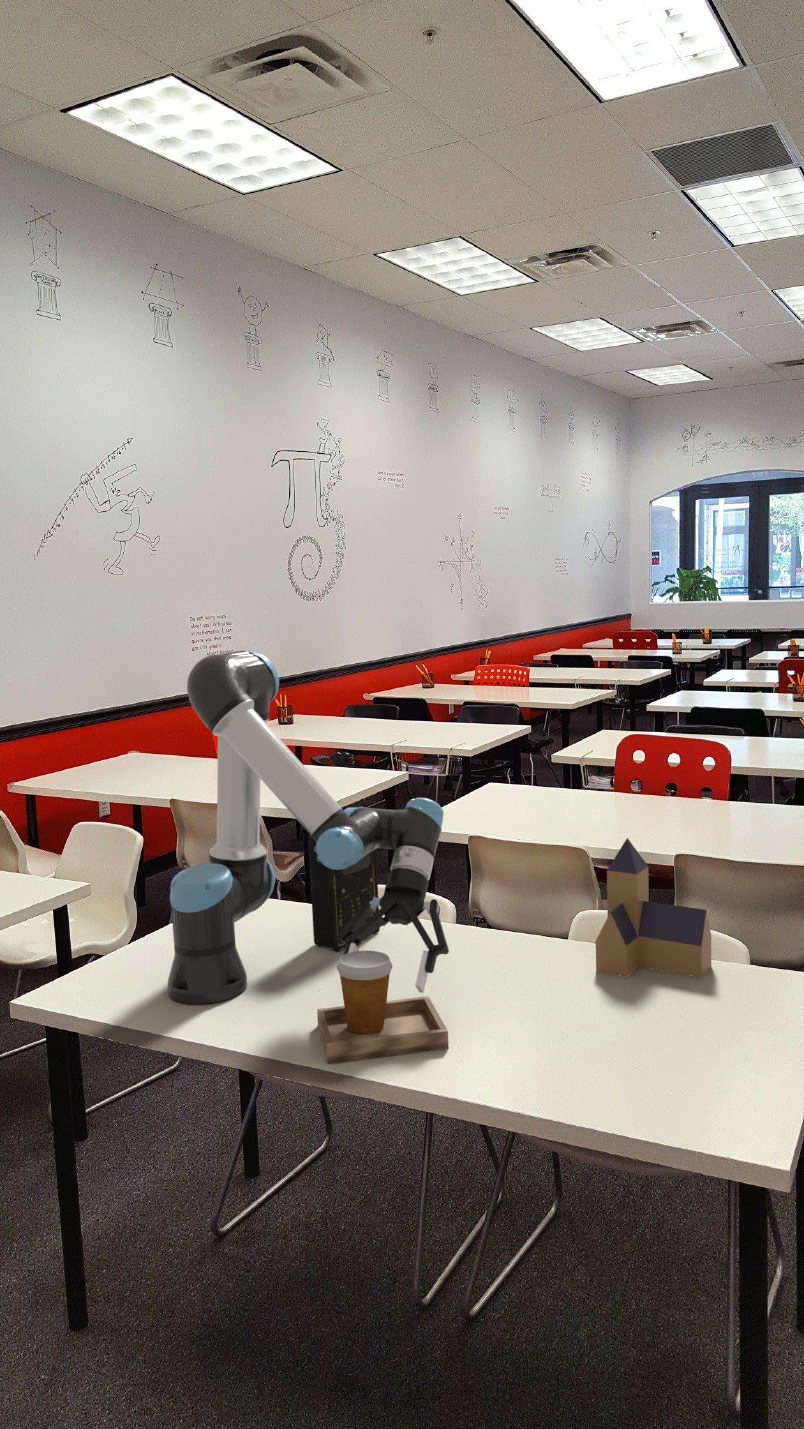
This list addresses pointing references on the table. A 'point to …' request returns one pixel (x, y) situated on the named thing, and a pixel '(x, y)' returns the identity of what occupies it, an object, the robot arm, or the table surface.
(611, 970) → the model church
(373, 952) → the disposable coffee cup
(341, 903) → the voltmeter
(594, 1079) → the table surface
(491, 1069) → the table surface
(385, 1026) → the trough tray
